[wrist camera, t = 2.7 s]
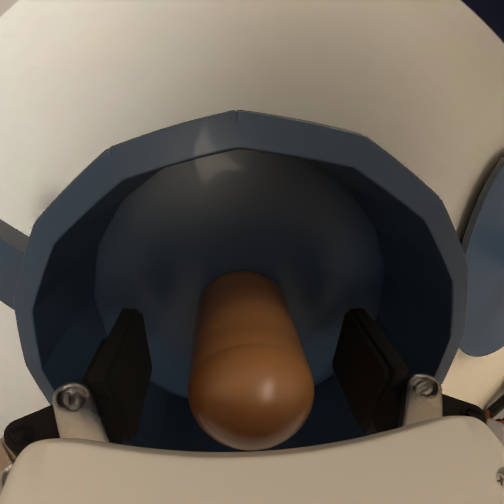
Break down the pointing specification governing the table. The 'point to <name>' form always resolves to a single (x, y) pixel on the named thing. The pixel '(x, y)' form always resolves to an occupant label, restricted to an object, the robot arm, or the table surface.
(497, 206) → the lid
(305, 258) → the pot
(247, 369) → the brown domed cylinder
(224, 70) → the table surface
